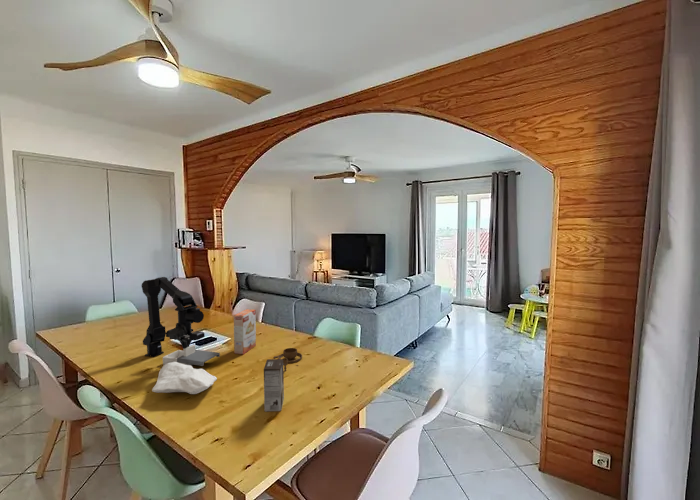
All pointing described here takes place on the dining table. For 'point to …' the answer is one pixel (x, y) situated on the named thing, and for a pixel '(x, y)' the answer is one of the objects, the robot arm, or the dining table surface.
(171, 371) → the crumpled cloth
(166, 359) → the tray
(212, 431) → the dining table surface
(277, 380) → the coffee box
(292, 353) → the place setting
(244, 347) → the cracker box
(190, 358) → the lid
